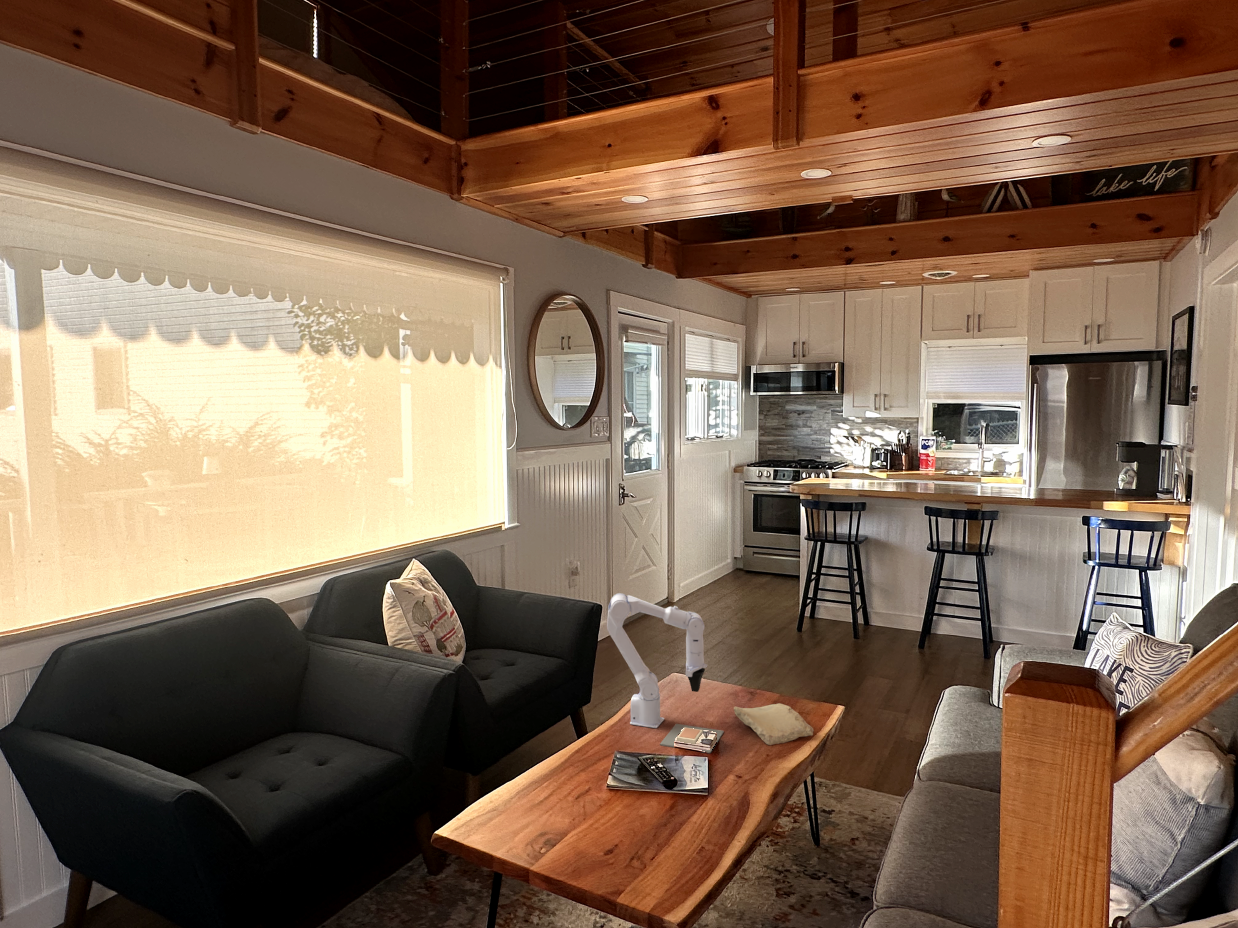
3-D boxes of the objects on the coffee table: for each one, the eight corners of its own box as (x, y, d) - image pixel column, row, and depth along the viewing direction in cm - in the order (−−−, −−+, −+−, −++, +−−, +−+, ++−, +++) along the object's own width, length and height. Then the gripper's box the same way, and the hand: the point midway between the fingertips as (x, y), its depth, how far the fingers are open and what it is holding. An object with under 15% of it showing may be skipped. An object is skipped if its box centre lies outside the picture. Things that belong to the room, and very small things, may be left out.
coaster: (684, 733, 249) (676, 743, 242) (684, 726, 249) (676, 736, 242) (702, 735, 247) (695, 746, 240) (702, 729, 247) (695, 739, 239)
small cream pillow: (757, 750, 240) (816, 737, 244) (755, 726, 239) (814, 713, 244) (728, 721, 263) (782, 710, 268) (725, 700, 263) (780, 688, 267)
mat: (660, 745, 242) (660, 743, 242) (676, 724, 257) (676, 723, 257) (710, 753, 236) (710, 751, 236) (723, 732, 251) (723, 730, 251)
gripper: (700, 658, 249) (700, 700, 250) (712, 645, 263) (713, 684, 264) (679, 656, 252) (679, 697, 253) (692, 643, 265) (693, 682, 266)
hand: (695, 690), depth 259 cm, fingers closed
